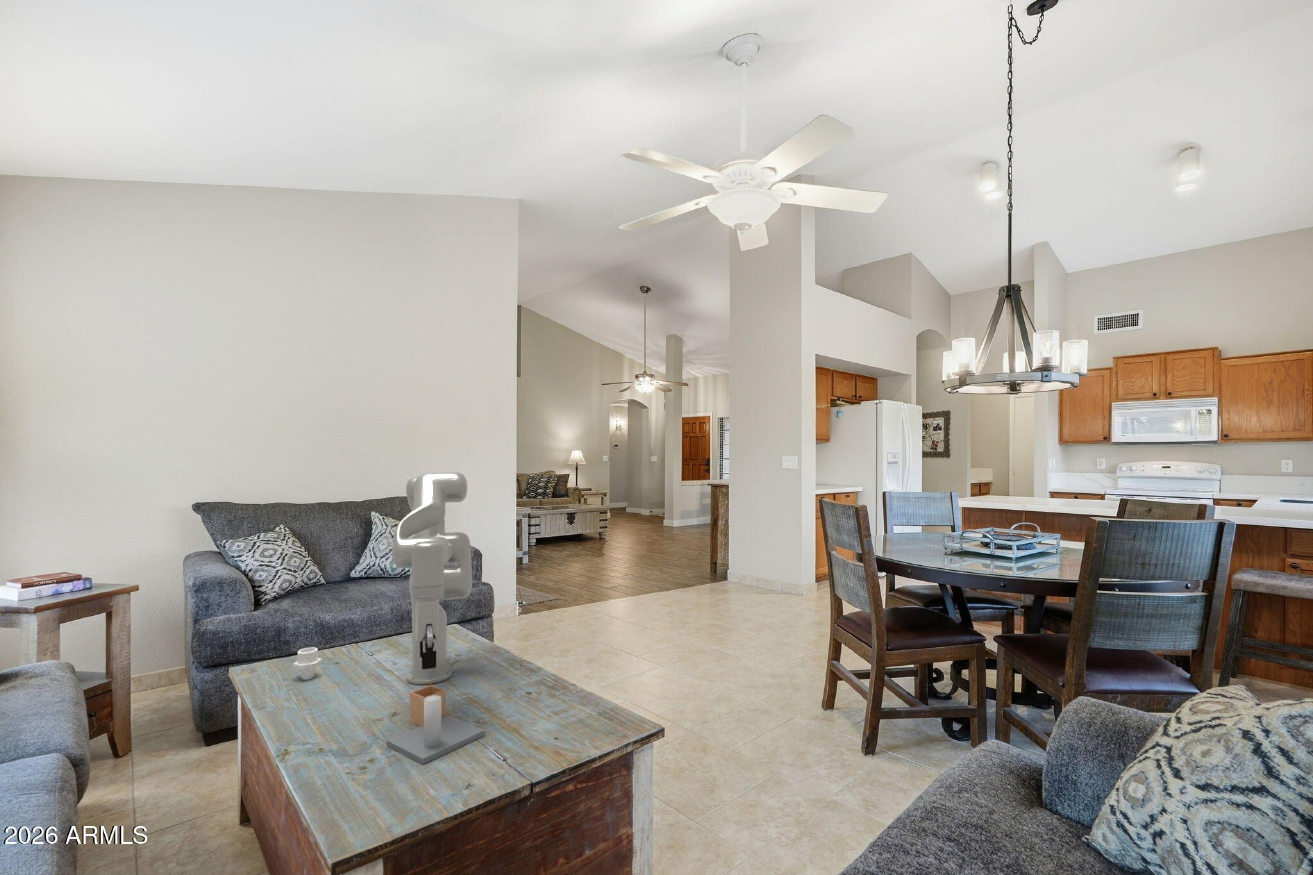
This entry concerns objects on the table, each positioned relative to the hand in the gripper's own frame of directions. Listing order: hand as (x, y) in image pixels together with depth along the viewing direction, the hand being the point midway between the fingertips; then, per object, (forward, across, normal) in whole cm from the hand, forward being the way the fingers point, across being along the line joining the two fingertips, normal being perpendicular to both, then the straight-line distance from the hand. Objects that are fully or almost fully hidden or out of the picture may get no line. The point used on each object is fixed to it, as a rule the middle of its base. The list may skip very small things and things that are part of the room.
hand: (427, 662), depth 149 cm
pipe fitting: (+14, -46, -30) cm, 57 cm away
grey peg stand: (+15, +11, +1) cm, 18 cm away
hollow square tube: (+14, -1, 0) cm, 14 cm away
